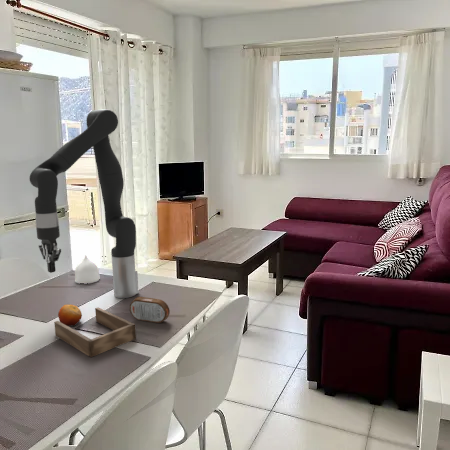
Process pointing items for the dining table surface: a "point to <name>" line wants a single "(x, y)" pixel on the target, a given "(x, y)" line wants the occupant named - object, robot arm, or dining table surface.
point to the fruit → (69, 315)
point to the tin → (149, 309)
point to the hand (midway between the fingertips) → (51, 271)
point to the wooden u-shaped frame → (95, 346)
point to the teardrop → (86, 271)
